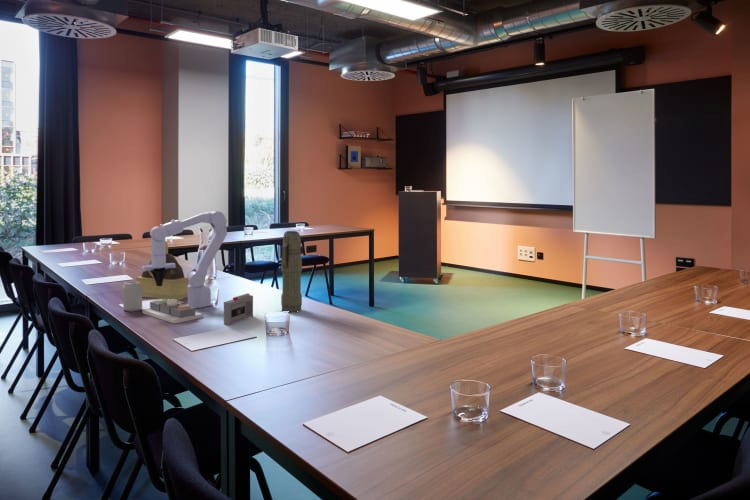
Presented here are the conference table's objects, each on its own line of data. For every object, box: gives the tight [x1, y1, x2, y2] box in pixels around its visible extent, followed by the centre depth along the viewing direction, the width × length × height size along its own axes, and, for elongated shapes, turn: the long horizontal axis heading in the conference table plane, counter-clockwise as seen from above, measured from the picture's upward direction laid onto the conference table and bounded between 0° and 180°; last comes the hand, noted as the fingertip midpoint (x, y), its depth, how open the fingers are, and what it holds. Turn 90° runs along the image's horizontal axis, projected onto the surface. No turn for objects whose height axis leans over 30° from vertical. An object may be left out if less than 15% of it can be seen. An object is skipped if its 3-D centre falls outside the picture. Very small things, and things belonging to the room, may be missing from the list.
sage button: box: [156, 299, 168, 304], centre depth 231 cm, size 4×4×3 cm
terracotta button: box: [178, 304, 188, 310], centre depth 221 cm, size 4×4×3 cm
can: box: [122, 280, 143, 312], centre depth 234 cm, size 8×8×12 cm
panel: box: [142, 300, 204, 324], centre depth 226 cm, size 13×24×4 cm, turn 51°
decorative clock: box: [135, 240, 189, 301], centre depth 262 cm, size 28×13×30 cm, turn 72°
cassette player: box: [223, 293, 254, 326], centre depth 220 cm, size 16×3×10 cm, turn 157°
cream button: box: [166, 299, 178, 307], centre depth 226 cm, size 4×4×3 cm
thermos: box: [280, 230, 303, 313], centre depth 237 cm, size 9×12×35 cm
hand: (159, 285), depth 234 cm, fingers closed
